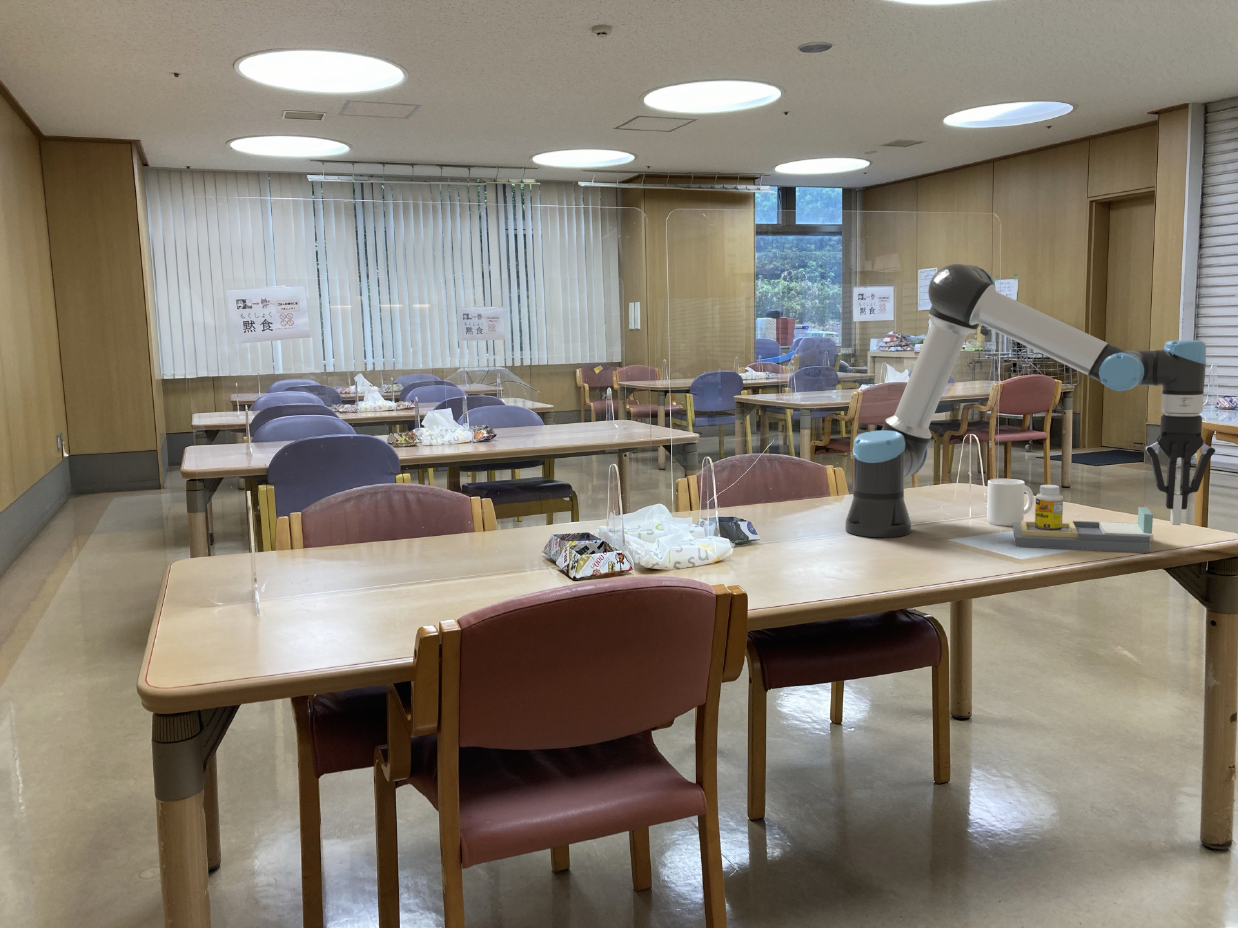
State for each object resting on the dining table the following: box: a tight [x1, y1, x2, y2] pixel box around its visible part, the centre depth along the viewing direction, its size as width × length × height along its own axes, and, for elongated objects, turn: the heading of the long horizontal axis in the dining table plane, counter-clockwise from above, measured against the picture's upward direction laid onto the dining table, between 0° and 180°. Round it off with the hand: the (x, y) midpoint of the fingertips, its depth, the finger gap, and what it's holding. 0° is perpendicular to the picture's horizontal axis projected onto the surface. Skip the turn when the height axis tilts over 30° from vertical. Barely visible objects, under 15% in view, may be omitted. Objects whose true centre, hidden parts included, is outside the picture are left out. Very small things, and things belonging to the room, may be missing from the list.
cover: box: [1098, 506, 1154, 541], centre depth 206 cm, size 9×11×5 cm
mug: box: [986, 478, 1035, 527], centre depth 230 cm, size 12×8×10 cm
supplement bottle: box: [1034, 484, 1064, 531], centre depth 211 cm, size 6×6×10 cm
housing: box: [1012, 520, 1151, 553], centre depth 209 cm, size 26×16×3 cm, turn 69°
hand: (1175, 523), depth 202 cm, fingers closed
